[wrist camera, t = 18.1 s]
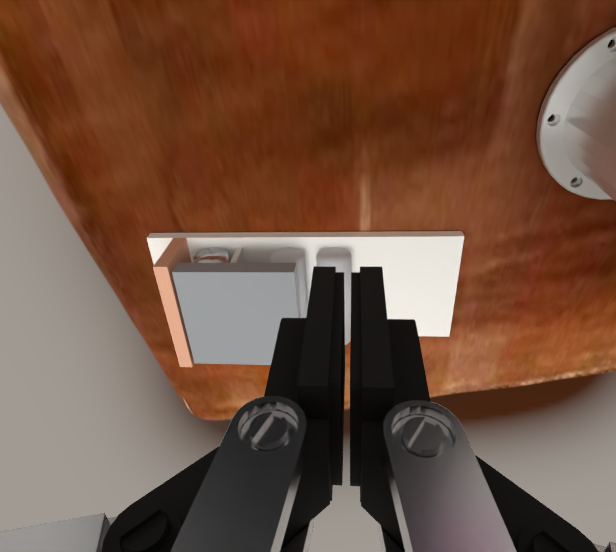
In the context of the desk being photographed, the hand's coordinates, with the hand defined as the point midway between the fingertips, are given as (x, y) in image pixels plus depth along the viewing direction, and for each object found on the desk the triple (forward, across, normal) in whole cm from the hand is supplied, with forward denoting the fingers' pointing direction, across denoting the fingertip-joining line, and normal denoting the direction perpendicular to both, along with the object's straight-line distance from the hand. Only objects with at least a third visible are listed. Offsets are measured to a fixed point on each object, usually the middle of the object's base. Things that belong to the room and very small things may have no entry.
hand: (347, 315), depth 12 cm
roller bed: (+27, +4, +17) cm, 32 cm away
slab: (+23, +9, +17) cm, 30 cm away
